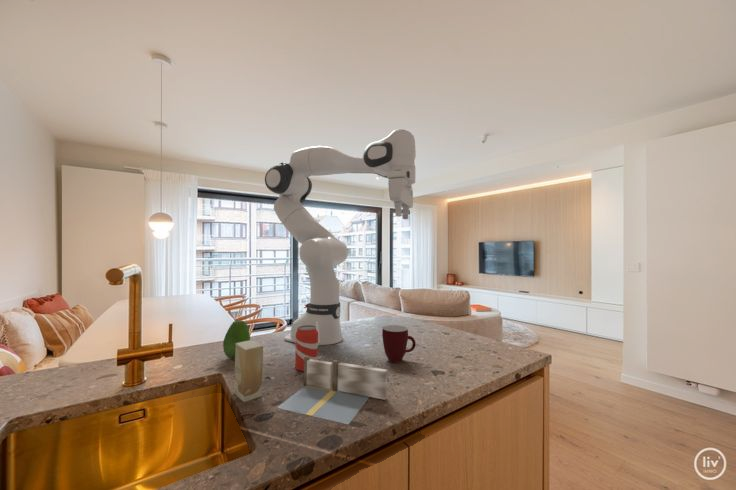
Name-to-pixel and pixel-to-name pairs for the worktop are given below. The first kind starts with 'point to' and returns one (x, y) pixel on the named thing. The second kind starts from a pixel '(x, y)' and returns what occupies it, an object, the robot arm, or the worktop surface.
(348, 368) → the fence panel
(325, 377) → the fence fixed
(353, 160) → the robot arm
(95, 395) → the worktop surface
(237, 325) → the fruit
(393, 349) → the mug
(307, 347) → the beverage can
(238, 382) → the skincare box
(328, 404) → the card
